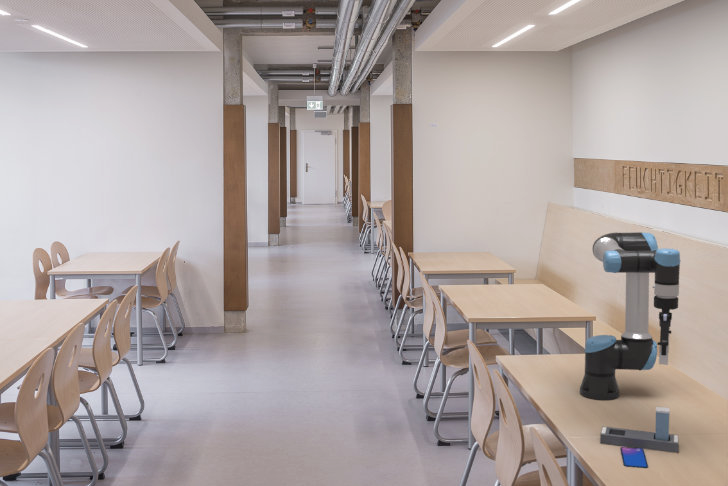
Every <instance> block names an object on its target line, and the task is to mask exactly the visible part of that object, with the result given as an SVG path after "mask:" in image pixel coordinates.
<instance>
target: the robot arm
mask: <svg viewBox="0 0 728 486" xmlns="http://www.w3.org/2000/svg"><path fill="white" fill-rule="evenodd" d="M592 254H593V256H594V258H596V259H597V260H598V261H600V262H602V267H603V270H604V272H606V273H612V274H618V273H625V311H624V312H625V315H624V316H625V318H624V319H625V321H624V322H625V323H624V324H625V325H624V326H625V327H624V328H625V329H624V331H623V332H622V333H621V335H620V339H617V338H616V336H615V335H611V334H610V335H609V334H599V335H594V336H591V337H588V338H587V339H586V341H585V345H584V375H583V378H582V381H581V383H580V386H579V394H580V395H581V396H582V395H583V396H582V397H584V396H585V398H587V397H588V398H587V399H592V400H601V401H606V400H607V401H609V400H615V399H618V398H619V397H620V388H619V385H618V381H617V378H616V370H631V371H649V370H652V369H653V368H654V366H655V364H656V360H657V357H658V365H664V366H668V365H669V354H670V353H669V352H670V351H669V349H670V335H671V334H672V330H670V329H671V325H672V324H671V322H672V319H673V313H672V312H670V311H671V310H676V309H678V308H679V294H680V266H681V265H680V264H681V253H680V251H679V250H678V249H675V248H674V249H673V248H659V247H658V241H657V239H656V237H655V235H654V234H653V233H651V232H642V231H641V232H640V231H639V232H610V233H605V234H603V235H601V236H599V237H598V238H597V239H596V240H594V242H593V244H592ZM650 274H654V285H652V287H651V288H653V289H654V290H653V293H654V294H653V295H654V296H653V307H654V308H655V309H659V310H661V311H659V314H658V319H659V321H658V322H659V327H660V331H659V333H660V335H659V336H660V337H659V342H657V341H655V340H654V339H653V335H652V334H651V333H650V332H649V317H650V315H649V313H650V312H649V307H650V305H649V303H650V302H649V301H650V300H649V299H650V297H649V296H650V294H649V293H650ZM658 346H659V347H658ZM658 352H659V353H658ZM657 355H658V356H657Z"/></svg>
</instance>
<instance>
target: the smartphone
mask: <svg viewBox="0 0 728 486" xmlns="http://www.w3.org/2000/svg"><path fill="white" fill-rule="evenodd" d="M619 450H620V455H621V458H622V459H621V460H622V465H623V466H624V467H627V468H638V469H640V468H641V469H648V468H649V464H648V461H647V457H646V452H645V449H643V448H635V447H627V446H620V448H619Z"/></svg>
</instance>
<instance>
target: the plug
mask: <svg viewBox="0 0 728 486" xmlns="http://www.w3.org/2000/svg"><path fill="white" fill-rule="evenodd" d="M669 430H670V407H664V406H656V407H655V431H654V432H655V439H656V440H665V441H668V440H669V434H670V431H669Z"/></svg>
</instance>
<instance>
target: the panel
mask: <svg viewBox="0 0 728 486" xmlns="http://www.w3.org/2000/svg"><path fill="white" fill-rule="evenodd" d="M599 439H600V440H599V444H603V445H611V446H612V445H613V446H620V447H633V448H642V449H644V450H652V451H661V452H668V453H677V454H679V446H680V445H679V434H671V433H669V440H668V441H665V440H656V439H655V431H645V430H638V429H637V430H636V429H630V428H629V429H627V428H621V427H620V428H619V427H609V426H602V427H601V431H600V438H599Z"/></svg>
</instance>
